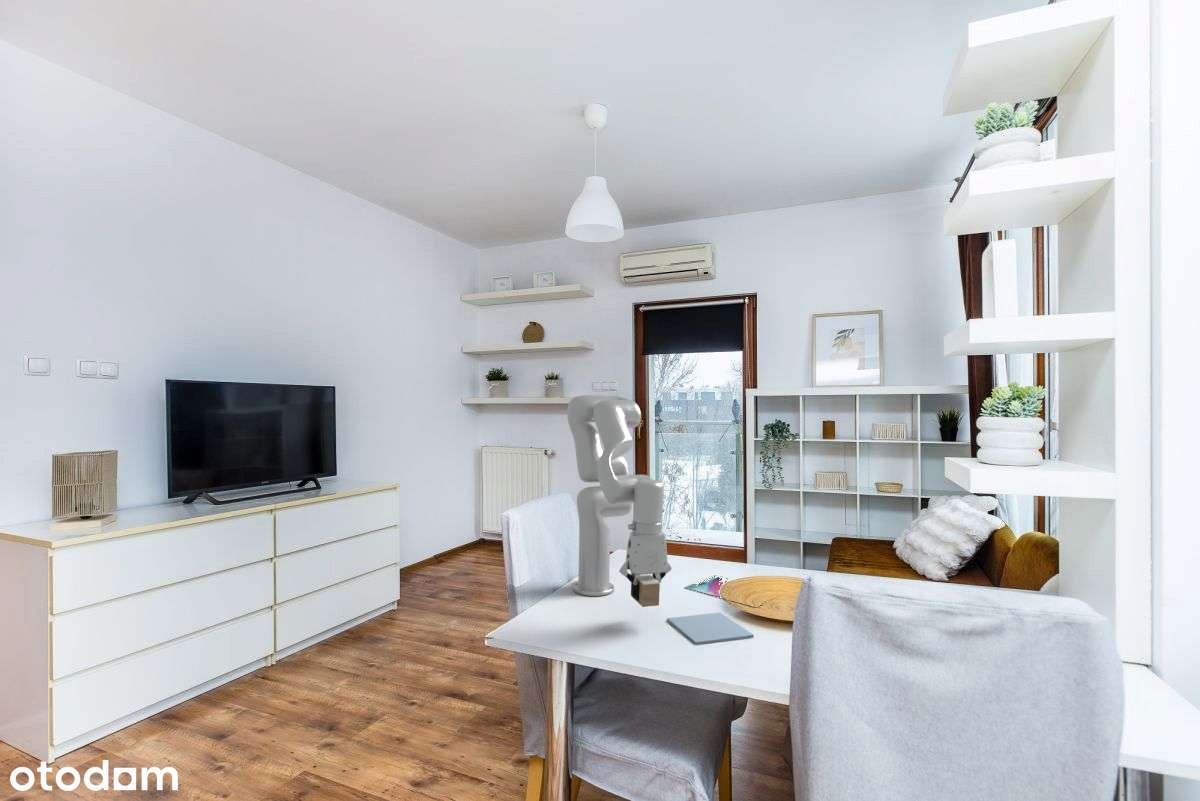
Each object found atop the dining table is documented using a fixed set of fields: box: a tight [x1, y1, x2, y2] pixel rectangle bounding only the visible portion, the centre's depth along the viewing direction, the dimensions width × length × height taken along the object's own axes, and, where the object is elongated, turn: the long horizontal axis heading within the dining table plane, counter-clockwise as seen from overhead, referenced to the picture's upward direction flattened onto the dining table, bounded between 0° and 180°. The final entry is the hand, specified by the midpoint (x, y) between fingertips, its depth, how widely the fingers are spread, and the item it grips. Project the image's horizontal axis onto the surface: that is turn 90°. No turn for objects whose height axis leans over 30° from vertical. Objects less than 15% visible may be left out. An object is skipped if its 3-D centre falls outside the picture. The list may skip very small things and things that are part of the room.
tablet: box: [683, 575, 729, 599], centre depth 179 cm, size 19×25×1 cm
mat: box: [666, 612, 755, 646], centre depth 148 cm, size 16×16×1 cm
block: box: [630, 574, 661, 608], centre depth 150 cm, size 8×4×6 cm, turn 19°
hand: (644, 596), depth 150 cm, fingers closed on block, 4 cm apart
